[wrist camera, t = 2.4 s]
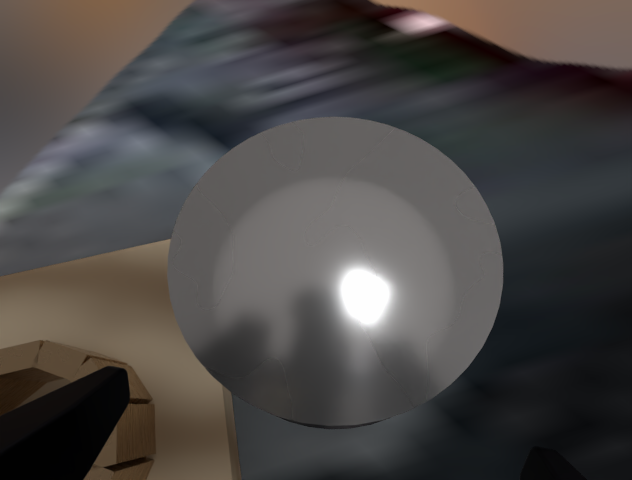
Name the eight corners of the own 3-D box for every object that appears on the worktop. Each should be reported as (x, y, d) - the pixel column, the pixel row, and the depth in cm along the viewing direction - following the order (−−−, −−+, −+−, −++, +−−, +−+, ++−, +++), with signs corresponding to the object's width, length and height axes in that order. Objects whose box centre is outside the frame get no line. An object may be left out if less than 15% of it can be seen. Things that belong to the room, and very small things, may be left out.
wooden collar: (158, 545, 13) (114, 580, 11) (-63, 606, 13) (-169, 659, 10) (152, 335, 17) (118, 321, 14) (-22, 377, 16) (-92, 370, 13)
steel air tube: (390, 400, 16) (586, 376, 4) (294, 425, 16) (167, 488, 4) (362, 307, 18) (431, 88, 6) (277, 328, 18) (154, 145, 6)
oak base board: (264, 679, 13) (257, 712, 11) (-146, 806, 12) (-209, 859, 10) (213, 243, 20) (205, 231, 19) (-36, 298, 19) (-64, 290, 18)
